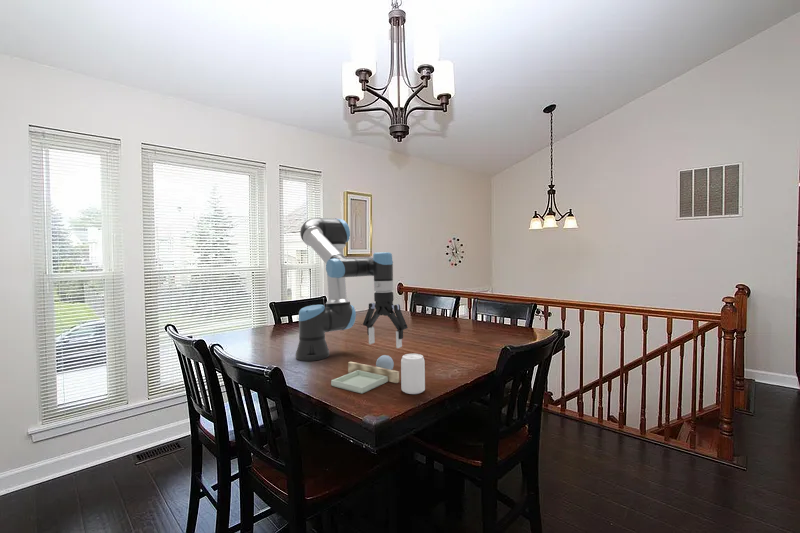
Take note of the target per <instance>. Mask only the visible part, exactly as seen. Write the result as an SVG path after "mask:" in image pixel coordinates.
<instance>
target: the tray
mask: <svg viewBox="0 0 800 533" xmlns="http://www.w3.org/2000/svg"><path fill="white" fill-rule="evenodd" d="M388 382H389V381H388V376H383V375H379V374H374V373H370V372H365V371H361V370H357V371H354V372H351V373H349V372H348V373H346V374H344V375H342V376H339V377H337V378H334V379H333V378H332V379H331V381H330V386H331V387H334V388H339V389H343V390H345V391H350V392H354V393H357V394H361V395H362V394H363V395H364V393H367V392H369V391H370V390H373V389H375V388H378V387H380V386H381V385H384V384H385V383H388Z"/></svg>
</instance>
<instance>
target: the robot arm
mask: <svg viewBox="0 0 800 533" xmlns="http://www.w3.org/2000/svg"><path fill="white" fill-rule="evenodd" d="M299 235H300V238H301V241H302V242H303V243H304V244H305V245H306V246H308V247H310V248H312V249H313V251H314V252H315V253H316V254H317V255H318V256H319V257H320V259H321V260H322V261H323V262H324V263H325V271H326V279H327V280H326V281H327V292H328V293H327V294H328V295H327V296H328V299H327V300H326V303H325V305H324V304H312V305H311V304H310V305H307V306H304V307H302V308H300V309H299V311H298V320H297V321H298V338H299V339H298V344H297V350H296V351H295V359H296V360H298V361H303V362H304V361H305V362H306V361H307V362H309V361H310V362H314V361H319V360H325V359H327V358H329V357H330V350H329V346H328V344H327V340H326V333H330V332H338V331H344V330H348V329H351V328H352V327H354V325H355V322H356V319H357V318H356V316H357V315H356V309H355V306H354V305H352V304H351V301H350V300H349V299H348V298H347V284H346V283H347V282H346V278H354V277H357V278H358V277H373V287H374V288H373V290H374V295H373V296H374V298H373V300H374V302H371V303H370V302H369V303H368V309H367V311H366V315H365V318H364V320H363V323H362V325H363V326H366V330H367V332H366V333H367V336H368V345H373V344H375V326H374V324H375V323H376V321H377V320H378V319H379V317H380V316H385V317H388V318H389V319H390V322H392V324H393V325H394V327H395V329H396V330H395V344H396V345H395V349H399V348H400V349H401V348H402V347H403V339H404V330H407V329H408V327H409V326H408V325H407V324H408V323H407V321H406V319H405V317H404V315H403V313H402V310H401V305H400V304H399V303H398V304H394V292H393V291H394V264H393V263H394V261H393V253H391V252H387V251H386V252H385V251H384V252H381V251H380V252H374V253H372V254H373V256H372V257H349V258H348V257H346V256H345V255H344V249H345V247H346V246H347V243H348V242H349V241H350V238H351V237H350V236H351V230H350V227H349V225H348V223H347V221H346V220H345V219H342V218H335V217H334V218H332V217H331V218H328V217H327V218H326V217H325V218H324V217H312V218H310V219H307V220H305V221H304V222H303V224H302V225H301V228H300V231H299Z"/></svg>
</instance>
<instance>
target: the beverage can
mask: <svg viewBox="0 0 800 533" xmlns="http://www.w3.org/2000/svg"><path fill="white" fill-rule="evenodd" d="M425 363H426V362H425V358H424V355H422V354H420V353H406V354H404V355H402V357H401V360H400V380H401V381H400V384H401V385H400V386H401V389H400V390H401V391H402V392H403V393H405V394H409V395H419V394H421V393H424V392H425V390H426V370H425V368H426V366H425V365H426V364H425Z"/></svg>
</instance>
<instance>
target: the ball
mask: <svg viewBox="0 0 800 533" xmlns="http://www.w3.org/2000/svg"><path fill="white" fill-rule="evenodd" d="M394 363H395V362H394V360H393V358H392V357H391V356H390V355H388V354H387V355H386V354H383V355H381V356H379V357H378V358H377V359H376V362H375V367H380V368H385V369H390V370H394V365H395V364H394Z"/></svg>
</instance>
